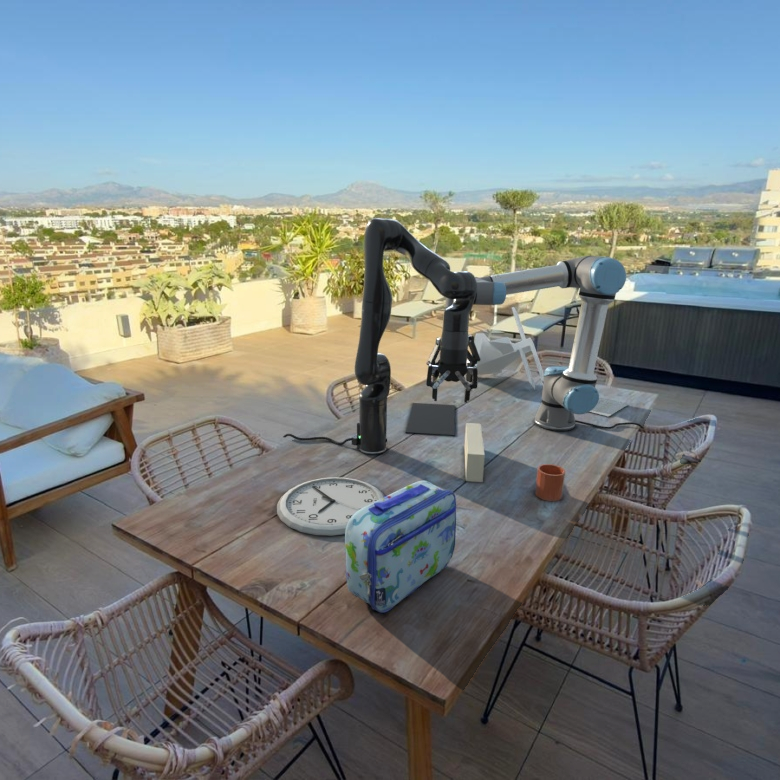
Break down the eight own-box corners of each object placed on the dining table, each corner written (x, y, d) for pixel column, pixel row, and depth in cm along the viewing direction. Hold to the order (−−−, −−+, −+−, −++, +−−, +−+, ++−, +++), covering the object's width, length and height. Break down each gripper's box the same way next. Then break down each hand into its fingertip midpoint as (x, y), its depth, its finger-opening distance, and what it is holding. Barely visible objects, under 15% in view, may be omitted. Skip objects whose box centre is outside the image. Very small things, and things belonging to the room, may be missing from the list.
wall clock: (392, 527, 129) (269, 531, 127) (392, 533, 130) (269, 537, 127) (383, 473, 158) (282, 475, 155) (383, 478, 158) (283, 480, 156)
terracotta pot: (559, 489, 154) (562, 464, 151) (564, 502, 147) (567, 476, 144) (533, 487, 154) (536, 463, 152) (537, 500, 147) (540, 474, 145)
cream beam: (478, 447, 182) (480, 423, 179) (482, 482, 157) (484, 454, 155) (464, 446, 182) (466, 422, 180) (465, 481, 158) (467, 453, 155)
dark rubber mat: (454, 406, 224) (454, 405, 224) (454, 436, 192) (454, 435, 192) (412, 403, 226) (412, 402, 226) (405, 433, 194) (405, 432, 194)
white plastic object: (482, 418, 267) (461, 395, 242) (463, 346, 289) (443, 318, 265) (552, 394, 255) (538, 367, 230) (527, 321, 277) (512, 289, 252)
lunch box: (374, 626, 100) (375, 530, 93) (338, 598, 107) (337, 508, 101) (459, 568, 117) (465, 484, 111) (424, 547, 124) (427, 467, 118)
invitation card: (608, 416, 214) (573, 407, 224) (608, 416, 214) (573, 407, 224) (627, 404, 229) (594, 396, 238) (627, 405, 229) (594, 397, 239)
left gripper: (479, 343, 147) (474, 398, 152) (428, 341, 148) (425, 395, 153) (481, 350, 140) (476, 407, 145) (428, 347, 141) (425, 404, 146)
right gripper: (480, 318, 183) (476, 376, 189) (418, 322, 172) (415, 384, 179) (493, 322, 176) (488, 382, 183) (429, 326, 166) (426, 390, 172)
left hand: (450, 401), depth 149 cm, fingers open, 8 cm apart
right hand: (452, 383), depth 181 cm, fingers open, 13 cm apart
